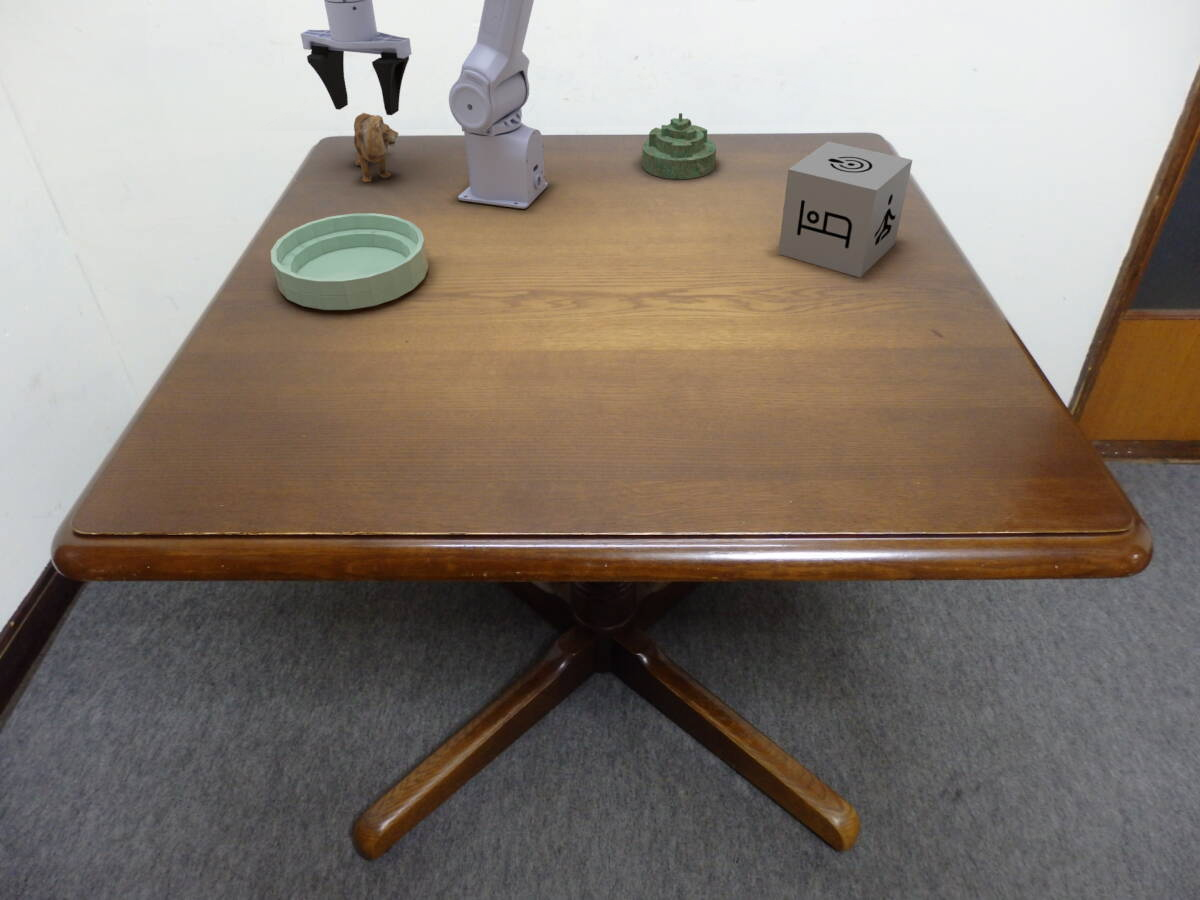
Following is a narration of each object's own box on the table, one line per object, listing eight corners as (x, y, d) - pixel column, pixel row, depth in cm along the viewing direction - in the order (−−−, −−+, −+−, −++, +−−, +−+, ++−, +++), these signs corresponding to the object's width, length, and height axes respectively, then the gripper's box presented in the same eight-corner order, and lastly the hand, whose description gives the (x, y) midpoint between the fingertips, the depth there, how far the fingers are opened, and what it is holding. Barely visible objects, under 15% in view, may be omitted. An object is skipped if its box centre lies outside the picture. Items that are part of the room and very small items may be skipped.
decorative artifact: (641, 179, 122) (716, 179, 121) (642, 126, 117) (720, 126, 117) (642, 151, 130) (712, 151, 129) (643, 101, 125) (716, 101, 125)
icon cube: (778, 253, 104) (788, 169, 98) (816, 222, 111) (828, 141, 104) (860, 277, 100) (876, 190, 94) (895, 243, 106) (912, 159, 100)
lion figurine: (408, 185, 121) (398, 117, 116) (369, 193, 119) (356, 124, 114) (378, 149, 131) (368, 85, 126) (342, 155, 130) (329, 90, 124)
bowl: (452, 255, 105) (448, 223, 103) (383, 325, 93) (376, 290, 91) (330, 237, 109) (323, 205, 107) (249, 301, 97) (239, 267, 95)
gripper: (416, -7, 113) (430, 105, 121) (314, -14, 116) (335, 95, 125) (388, 7, 107) (405, 123, 116) (282, -1, 111) (306, 112, 120)
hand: (367, 109), depth 120 cm, fingers open, 7 cm apart
